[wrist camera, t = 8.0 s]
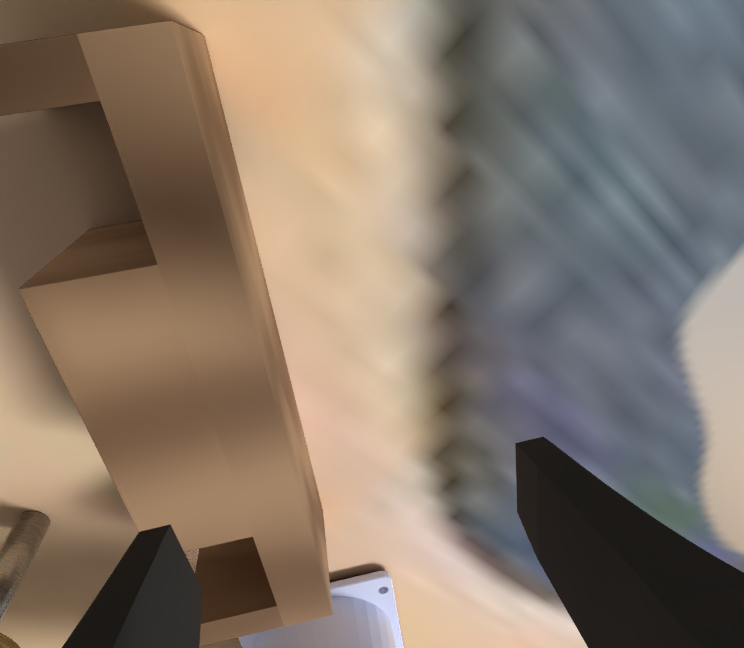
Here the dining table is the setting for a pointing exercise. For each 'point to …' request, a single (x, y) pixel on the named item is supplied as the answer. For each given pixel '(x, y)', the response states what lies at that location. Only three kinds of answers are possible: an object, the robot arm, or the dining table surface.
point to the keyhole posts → (18, 559)
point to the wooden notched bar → (179, 329)
